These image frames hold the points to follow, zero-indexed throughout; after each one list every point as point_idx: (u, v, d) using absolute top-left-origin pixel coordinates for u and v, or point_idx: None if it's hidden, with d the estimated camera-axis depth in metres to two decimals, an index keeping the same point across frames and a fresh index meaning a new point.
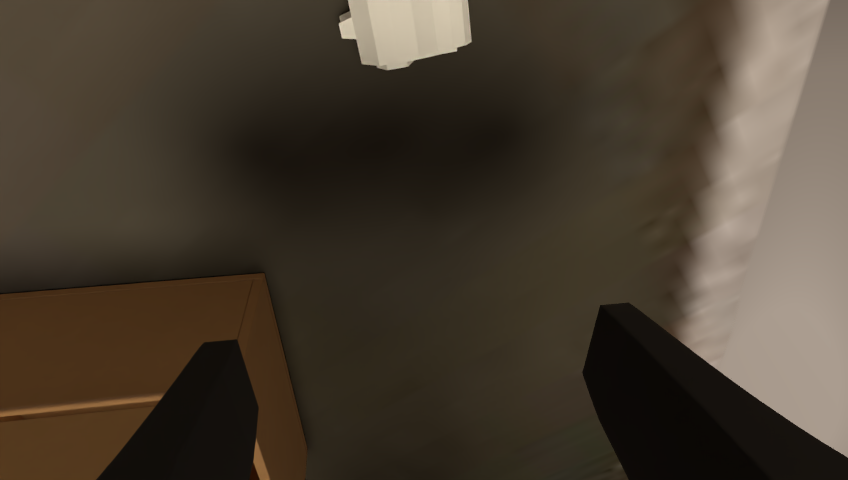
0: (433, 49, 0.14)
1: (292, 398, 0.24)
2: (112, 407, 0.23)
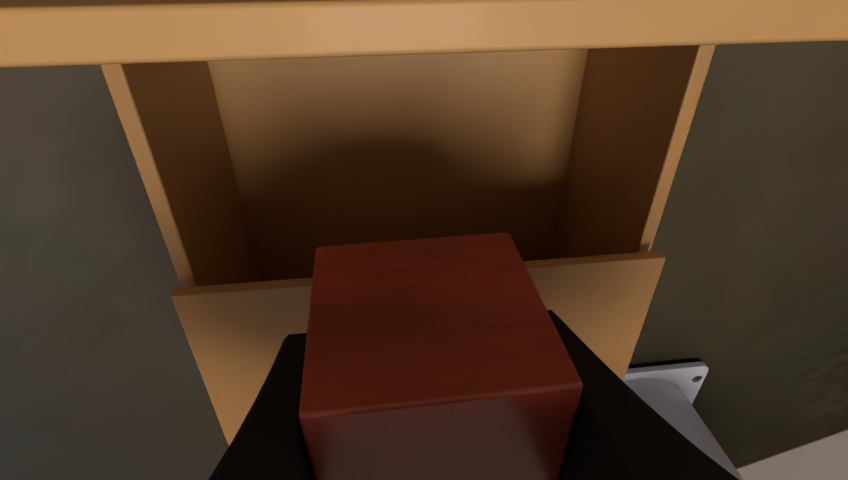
0: None
1: None
2: (353, 186, 0.18)
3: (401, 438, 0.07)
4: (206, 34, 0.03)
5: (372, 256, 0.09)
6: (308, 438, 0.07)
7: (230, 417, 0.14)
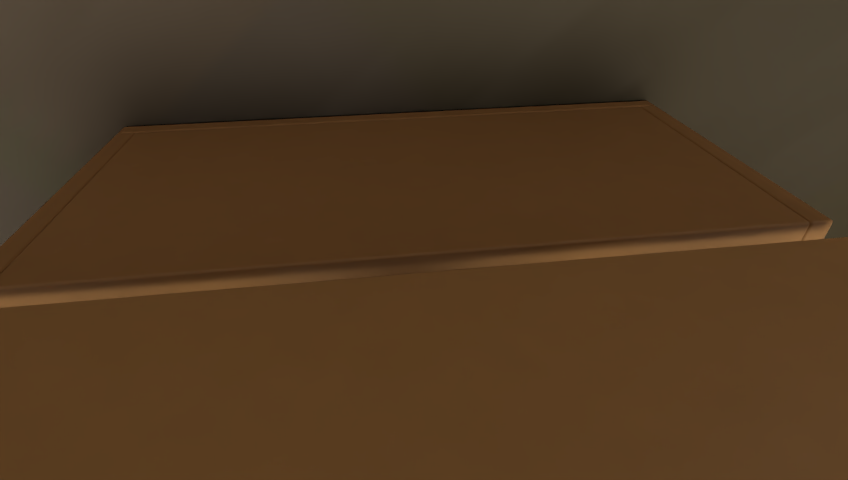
0: None
1: None
2: None
3: None
4: None
5: None
6: None
7: None
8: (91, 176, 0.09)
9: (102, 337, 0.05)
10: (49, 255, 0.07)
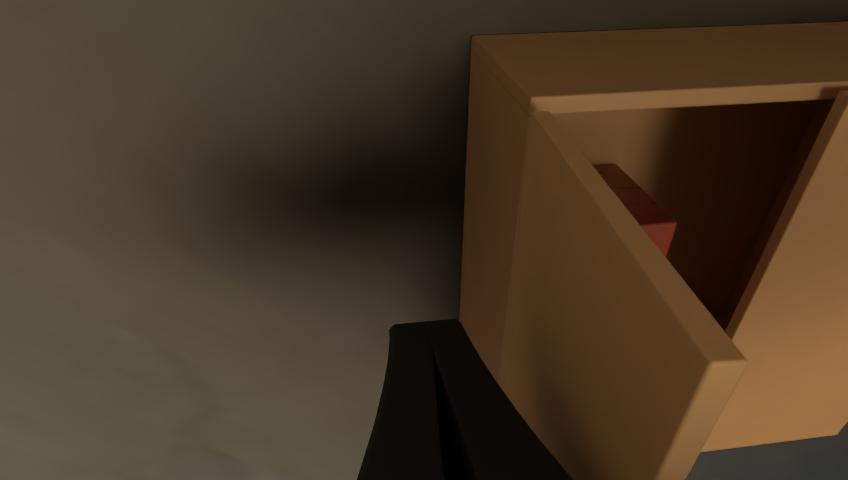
0: None
1: (718, 29, 0.15)
2: None
3: None
4: None
5: None
6: None
7: (803, 433, 0.17)
8: None
9: None
10: None
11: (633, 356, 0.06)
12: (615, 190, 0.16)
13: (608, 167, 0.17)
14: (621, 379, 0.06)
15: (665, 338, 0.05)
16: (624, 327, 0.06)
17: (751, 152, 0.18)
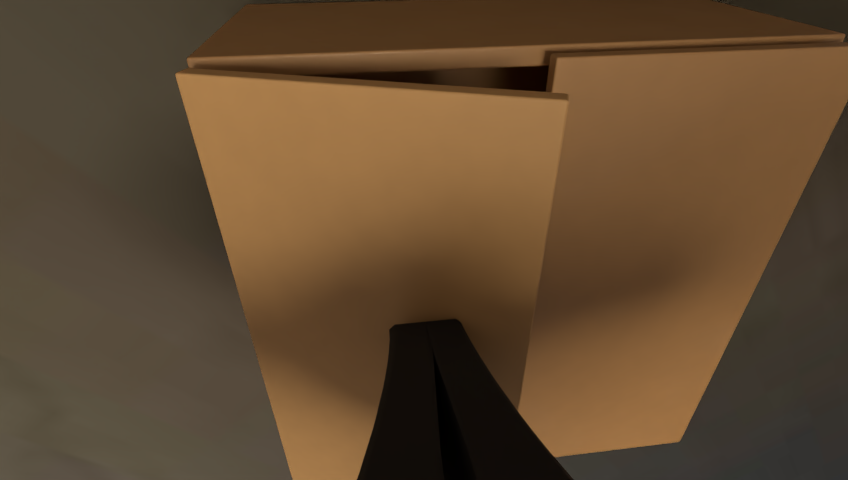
0: None
1: None
2: None
3: None
4: None
5: None
6: None
7: (640, 440, 0.16)
8: None
9: (306, 449, 0.13)
10: None
11: (490, 161, 0.07)
12: None
13: None
14: (483, 189, 0.08)
15: (521, 119, 0.07)
16: (470, 152, 0.07)
17: None
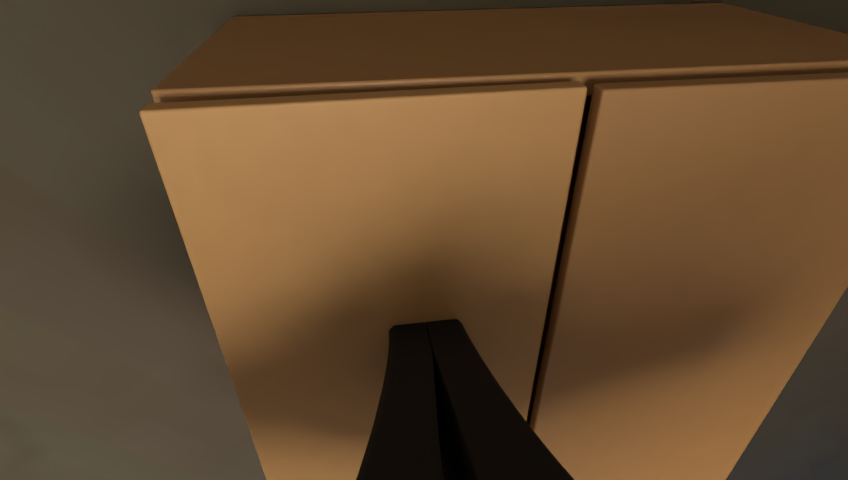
0: None
1: (544, 10, 0.12)
2: None
3: None
4: None
5: None
6: None
7: None
8: None
9: None
10: None
11: (515, 155, 0.08)
12: None
13: None
14: (508, 183, 0.08)
15: (545, 111, 0.07)
16: (495, 150, 0.07)
17: None
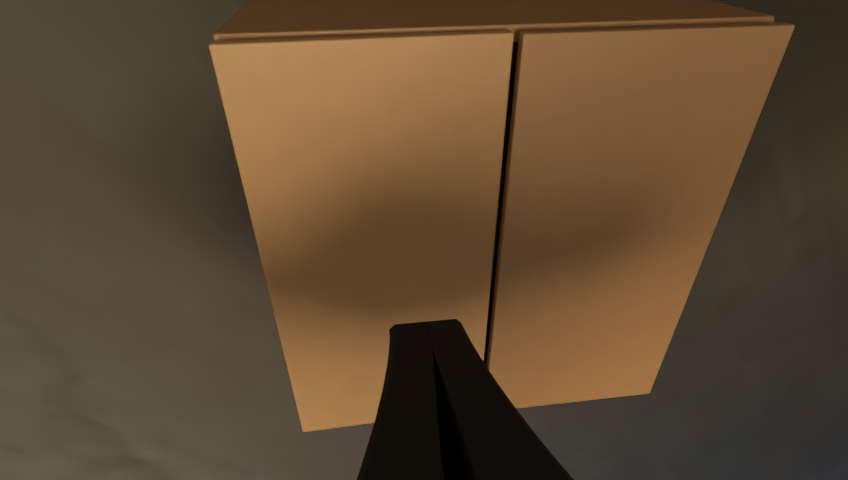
0: None
1: None
2: None
3: None
4: None
5: None
6: None
7: (613, 391, 0.18)
8: None
9: (316, 382, 0.15)
10: None
11: (465, 82, 0.11)
12: None
13: None
14: (462, 105, 0.11)
15: (485, 49, 0.10)
16: (451, 78, 0.11)
17: None
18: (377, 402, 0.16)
